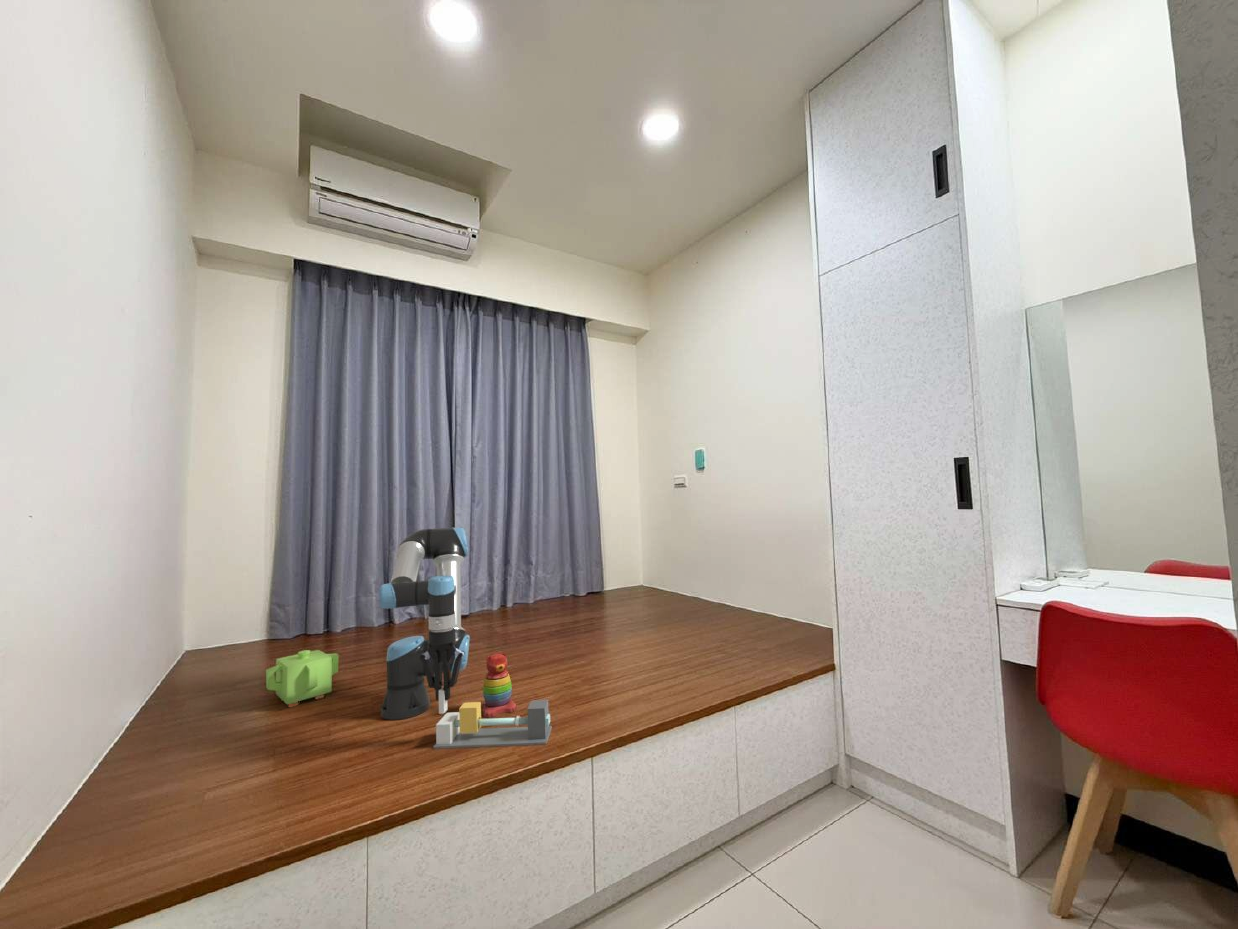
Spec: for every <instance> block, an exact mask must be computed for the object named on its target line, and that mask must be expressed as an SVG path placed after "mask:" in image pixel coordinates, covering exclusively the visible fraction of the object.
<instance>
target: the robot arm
mask: <svg viewBox="0 0 1238 929" xmlns="http://www.w3.org/2000/svg"><path fill="white" fill-rule="evenodd" d="M396 557H397V560H396V564H395V566H394V570H393V573H392V576H391V580H390V582H388V583H384V584H381V585H380V587H379V590H378V591H379V592H378V604H379V606H380V608H381V609H398V608H409V607H417V606H418V607H419V606H426V605H427V606H428V630H429V632H428V639H425V638H424V636H423V635H413V636H409V637H405V638H401V639H399V640H396V641H394V642H393V643H391V644H389V646H388V647H387V651H386V659H385V661H386V693H385V696H384V698H383V702H382V705H381V708H380V709H381V710H380V711H381V713H380V715H381V718H382V719H385V720H390V721H391V720H393V721H395V720H404V719H405V720H406V719H409V718H413V717H416V716H418V715H421V714H423V713H424V712H427V710H429V709H430V706H431V697H430V695H429V692H428V689H427V687H426V684H425V677H426V680H427V684H428V688H430V689H434V690H435V701H436V702H438V714H442V715H443V714H446V713H447V711H448V701H449V700H450V698H451V688H453V687H454V686H455V685H456V684H457V683H458V678H459V673H460V671H464V670H465V669H466V667H467V664H468V658H469V648H470V635H469V634H466V629H465V628H463V627H462V609H461V608H462V607H461V606H462V601H461V600H462V598H461V597H462V596H461V594H462V592H461V591H462V590H461V588H462V587H461V579H462V578H461V564H463V563H464V562H465V558H466V557H469V547H468V541H467V535H466V531H465V528H462V527H452V526H451V527H445V528H444V527H443V528H440V527H439V528H424V529H423V528H422V529H420V530H417V531H415V532H412V533H411V534H409V535H408V536H406V537H405V538H404V539H403V540H402V541H401V543H400V544H399V545H398V547H397V551H396ZM431 559H432V563H433V564H434V565H435V566H436V576H432V577H430V578H429V579H428V580H417V578H418V574H419V569H420V564H421V562H422V561H423V560H431Z"/></svg>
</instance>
